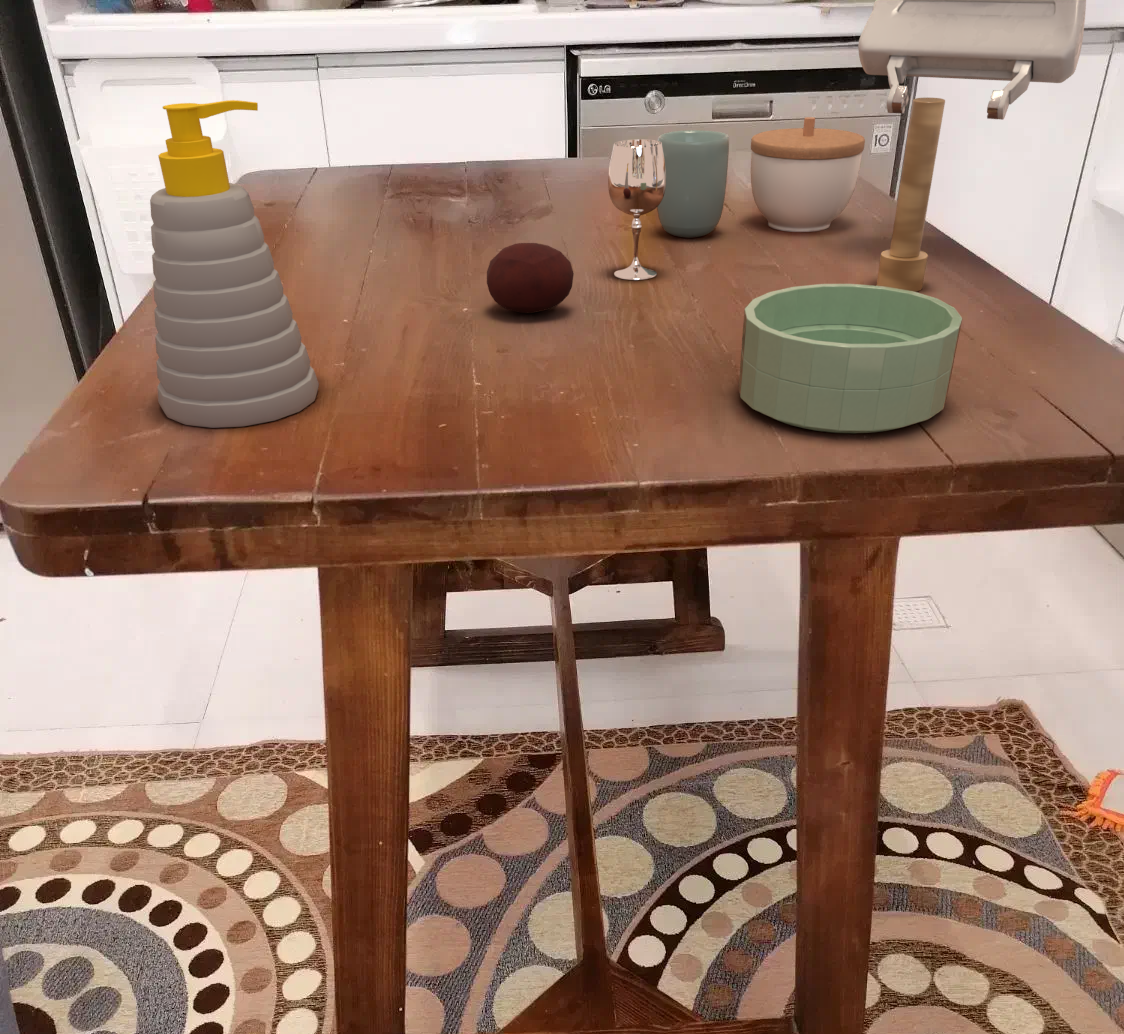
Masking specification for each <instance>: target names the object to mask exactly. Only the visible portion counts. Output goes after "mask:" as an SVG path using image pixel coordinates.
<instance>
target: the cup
mask: <svg viewBox="0 0 1124 1034" xmlns="http://www.w3.org/2000/svg"><path fill="white" fill-rule="evenodd" d="M657 141H660V142H661V143H662V147H663V152H664V158H665V164H666V175H667V178H666V190H665V195H664V198H663V200H662V202H661V203H660V205H659V206H658V207H657V208H656V210H657V217H658V220H659V223H660V225H661V227H662V228H663V230H664V231H665V232H666V233H667V234H669V235H671V236H674V237H677V238H683V239H684V238H685V239H686V238H687V239H694V238H701V237H704V236H707V235H709V234H710V233H712V232H713V231H714V230H715V229H716V228H717V226H718V224H719V222H720V220H721V217H722V213H723V210H724V205H725V201H726V200H725V199H726V192H727V191H726V190H727V183H728V169H729V156H730V155H729V154H730V136H729V134H727V133H725V132H721V131H715V130H705V129H704V130H703V129H701V130H699V129H687V130H686V129H685V130H674V131H668V132H665V133H662V134H660V135H659V136H658V137H657Z"/></svg>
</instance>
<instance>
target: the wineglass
mask: <svg viewBox="0 0 1124 1034" xmlns="http://www.w3.org/2000/svg"><path fill="white" fill-rule="evenodd" d="M610 156H611V157H610V161H609V165H608V174H607V175H608V176H607V188H608V195H609V199H610V201H611V203H612V204H613V206H614V207H615V208H616V209H617V210H619V211H620V212H622V213H624V214H627V215H629V216H633V219H632V221H631V226H630V227H631V232H632V239H633V258H632V262H631V263H630V265H629V266H628V267H622V268H619V269H616V270H615V271H614V272H613V276H614V277H616V278H618V279H621V280H627V281H642V280H648V279H653V278H655V277H657V276H658V271H656V270H655V269H653V268H649V267H645V266H643V265H642V264H641V263H640V260H639V241H640V235H641V232H642V221H641V219H640V217H641V216H643V215H647V214H648V213H651V212H652V211H654V210H656V209H657V207H658V206H659V205H660V203H661V202H662V200H663V198H664V195H665V190H666V178H667V175H666V164H665V158H664V152H663V147H662V143H661V142H660V141H658V140H655V139H645V138H644V139H643V138H642V139H640V138H638V139H624V140H619V141H616V142H614V143H613V147H612V152H611V155H610Z"/></svg>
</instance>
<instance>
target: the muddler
mask: <svg viewBox="0 0 1124 1034" xmlns="http://www.w3.org/2000/svg"><path fill="white" fill-rule="evenodd" d="M945 104H946V99H944V98H941V97H916V98H913V100H912V103H911V110H910V116H909V123H908V131H907V136H906V143H905V149H904V155H903V162H902V168H901V169H902V170H901V176H900V182H899V189H898V195H897V201H896V209H895V214H894V220H893V221H894V222H893V227H892V233H891V234H892V235H891V241H890V249H885V250H884V251H881V253H880V260H879V265H878V272H877V278H876V285H875V286H884V287H891V288H897V289H902V290H908V291H913V292H920V291H921V290H922V289H923V286H924V281H925V274H926V270H927V263H928V258H929V255H928V253H926V252H925V251H922V250H921V247H922V241H923V236H924V229H925V224H926V217H927V211H928V206H929V201H930V195H931V188H932V182H933V176H934V170H935V164H936V159H937V153H938V148H939V147H938V146H939V140H940V134H941V129H942V122H943V116H944V112H945V111H944V110H945Z"/></svg>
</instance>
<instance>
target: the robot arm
mask: <svg viewBox="0 0 1124 1034" xmlns="http://www.w3.org/2000/svg"><path fill="white" fill-rule="evenodd" d="M1086 7H1087V0H875V1H874V3H873V6H872V11H871V13H870V14H869V17H868V19H867V21H866V23H865V25H864V27H863V30H862V32H861V34H860V37H859V39H858V43H857V47H858V57H859V62H860V65H861V67H862V69H863V71H864V72H865V74H866V75H871V76H887V77H888V78H887V80H888V85H889V89H890V90H889V94H888V96H887V99H886V110H887V114H904V113H905V110H906V108H905V107H907V105H908V102H909V94H908V91H909V90H908V85H902V84H904V82H905V79H906V77H915V78H937V79H941V78H942V79H957V80H958V79H959V80H982V81H983V80H984V81H1003V82H1004V81H1005V82H1009V83H1007V84H1006V85H1005V86H1004V87H1003V88H1002V89H1001V90H1000V89H999V90H996V89H994V90H993V89H992V91H991V94H990V99H989V101H988V104H987V107H986V113H987V115H986V118H987V120H1004V119H1005V118H1006V115H1007V111H1008V109H1009V107H1010V105H1012V104H1013V103H1014V102H1015V101H1016V100H1018V99H1019V98H1020V97H1021V96H1022V95H1024V93H1025V92H1026V91H1027V90H1028V88H1029V86H1030V83H1045V84H1046V83H1047V84H1048V83H1049V84H1061V83H1063V82H1066V80H1068V79H1069V78H1071V77H1072V76H1073V75H1074V74H1075V72H1076V70H1077V66H1078V63H1079V60H1080V55H1081V51H1082V46H1083V45H1082V44H1083V41H1084V31H1085V20H1086V9H1087V8H1086ZM900 84H901V85H900Z"/></svg>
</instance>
